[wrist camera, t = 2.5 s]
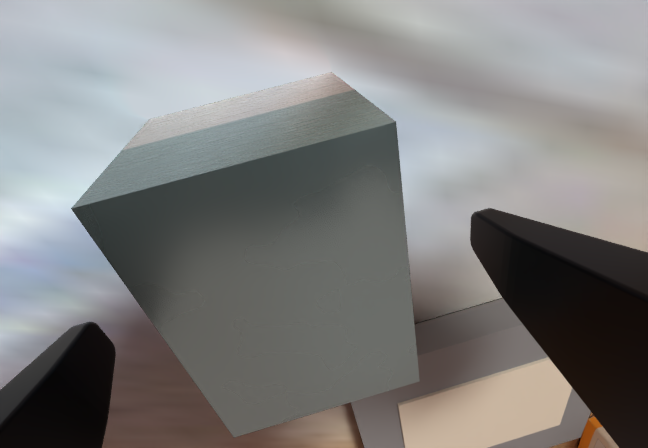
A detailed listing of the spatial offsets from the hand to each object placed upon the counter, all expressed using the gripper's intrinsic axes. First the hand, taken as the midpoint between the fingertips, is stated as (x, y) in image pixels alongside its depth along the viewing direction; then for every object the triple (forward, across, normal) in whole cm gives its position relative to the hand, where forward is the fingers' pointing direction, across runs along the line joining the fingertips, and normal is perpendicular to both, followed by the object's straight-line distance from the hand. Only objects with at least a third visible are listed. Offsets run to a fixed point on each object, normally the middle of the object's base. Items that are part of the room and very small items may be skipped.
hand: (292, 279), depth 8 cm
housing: (+4, 0, 0) cm, 4 cm away
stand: (+4, -7, +14) cm, 16 cm away
